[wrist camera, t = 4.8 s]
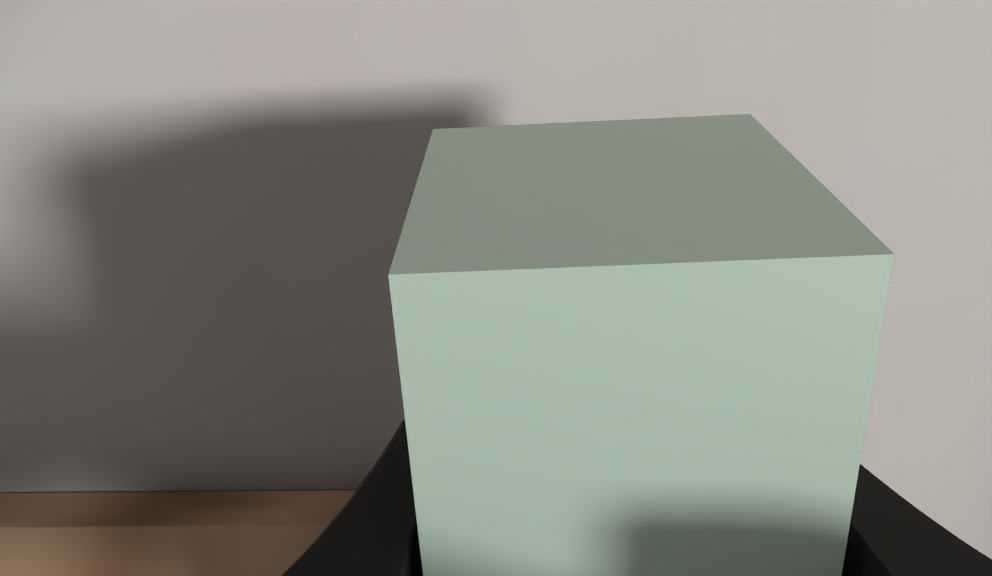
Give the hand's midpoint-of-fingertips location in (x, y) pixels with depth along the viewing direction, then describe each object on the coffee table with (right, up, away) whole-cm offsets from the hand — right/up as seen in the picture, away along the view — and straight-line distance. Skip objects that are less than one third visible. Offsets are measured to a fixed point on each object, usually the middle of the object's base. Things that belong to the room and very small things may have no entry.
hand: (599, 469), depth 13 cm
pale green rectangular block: (0, +1, +1) cm, 1 cm away
